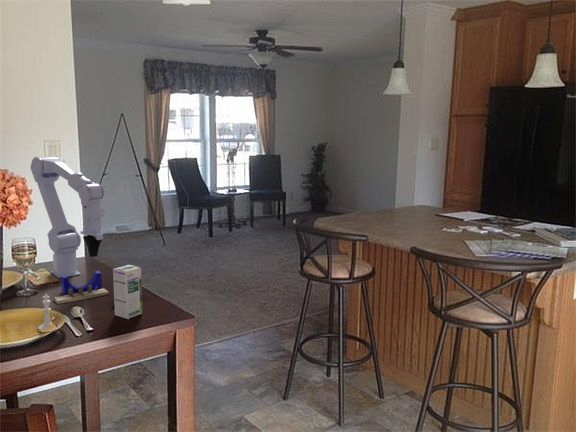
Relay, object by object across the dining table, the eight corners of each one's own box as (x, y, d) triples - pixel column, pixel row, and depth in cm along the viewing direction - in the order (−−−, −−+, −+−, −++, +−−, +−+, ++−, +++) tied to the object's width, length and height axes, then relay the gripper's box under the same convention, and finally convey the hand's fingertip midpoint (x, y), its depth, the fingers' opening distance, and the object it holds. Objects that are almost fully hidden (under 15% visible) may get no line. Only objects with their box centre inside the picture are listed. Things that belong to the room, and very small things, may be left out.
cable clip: (65, 296, 167) (64, 279, 166) (62, 292, 171) (61, 275, 170) (103, 291, 174) (102, 274, 173) (99, 287, 178) (98, 270, 177)
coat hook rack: (53, 300, 163) (53, 291, 163) (104, 291, 173) (103, 282, 173) (57, 303, 160) (57, 294, 160) (108, 294, 170) (108, 285, 170)
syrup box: (127, 319, 149) (126, 271, 147) (114, 315, 152) (112, 267, 150) (142, 313, 154) (141, 267, 152) (129, 309, 157) (128, 263, 155)
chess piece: (41, 325, 143) (40, 291, 141) (60, 325, 144) (58, 291, 142) (34, 332, 138) (32, 297, 137) (53, 332, 139) (52, 297, 137)
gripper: (73, 216, 182) (75, 253, 184) (87, 222, 171) (89, 262, 173) (93, 214, 187) (94, 250, 189) (108, 220, 176) (109, 259, 178)
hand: (93, 256), depth 181 cm, fingers closed
